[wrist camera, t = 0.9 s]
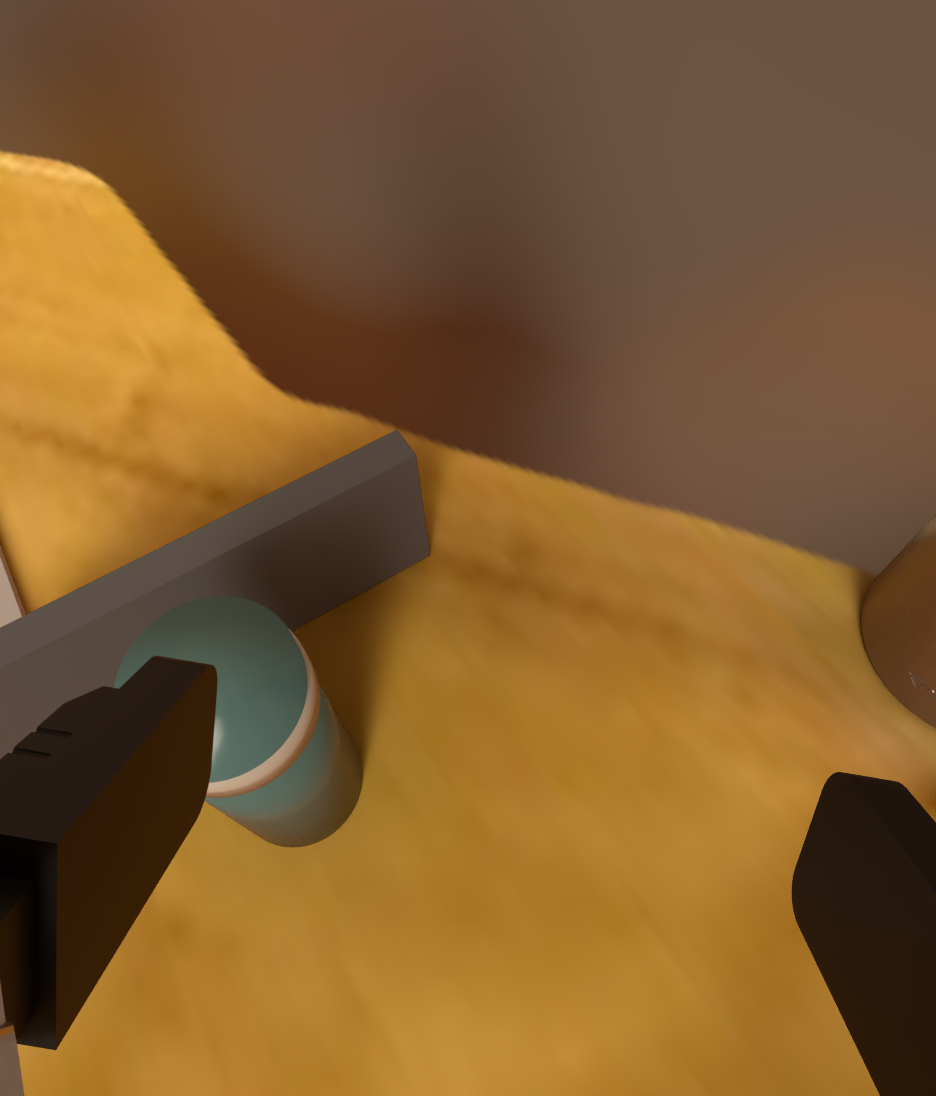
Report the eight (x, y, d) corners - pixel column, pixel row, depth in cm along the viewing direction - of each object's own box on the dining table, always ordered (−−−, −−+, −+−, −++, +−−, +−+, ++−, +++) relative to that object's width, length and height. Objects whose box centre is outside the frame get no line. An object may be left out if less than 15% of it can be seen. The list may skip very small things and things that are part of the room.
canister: (298, 693, 34) (212, 561, 23) (391, 768, 32) (343, 662, 22) (207, 792, 32) (68, 697, 21) (301, 879, 30) (200, 821, 20)
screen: (414, 532, 38) (397, 429, 31) (429, 555, 37) (416, 455, 30) (8, 751, 33) (-122, 688, 26) (17, 782, 32) (-112, 724, 25)
